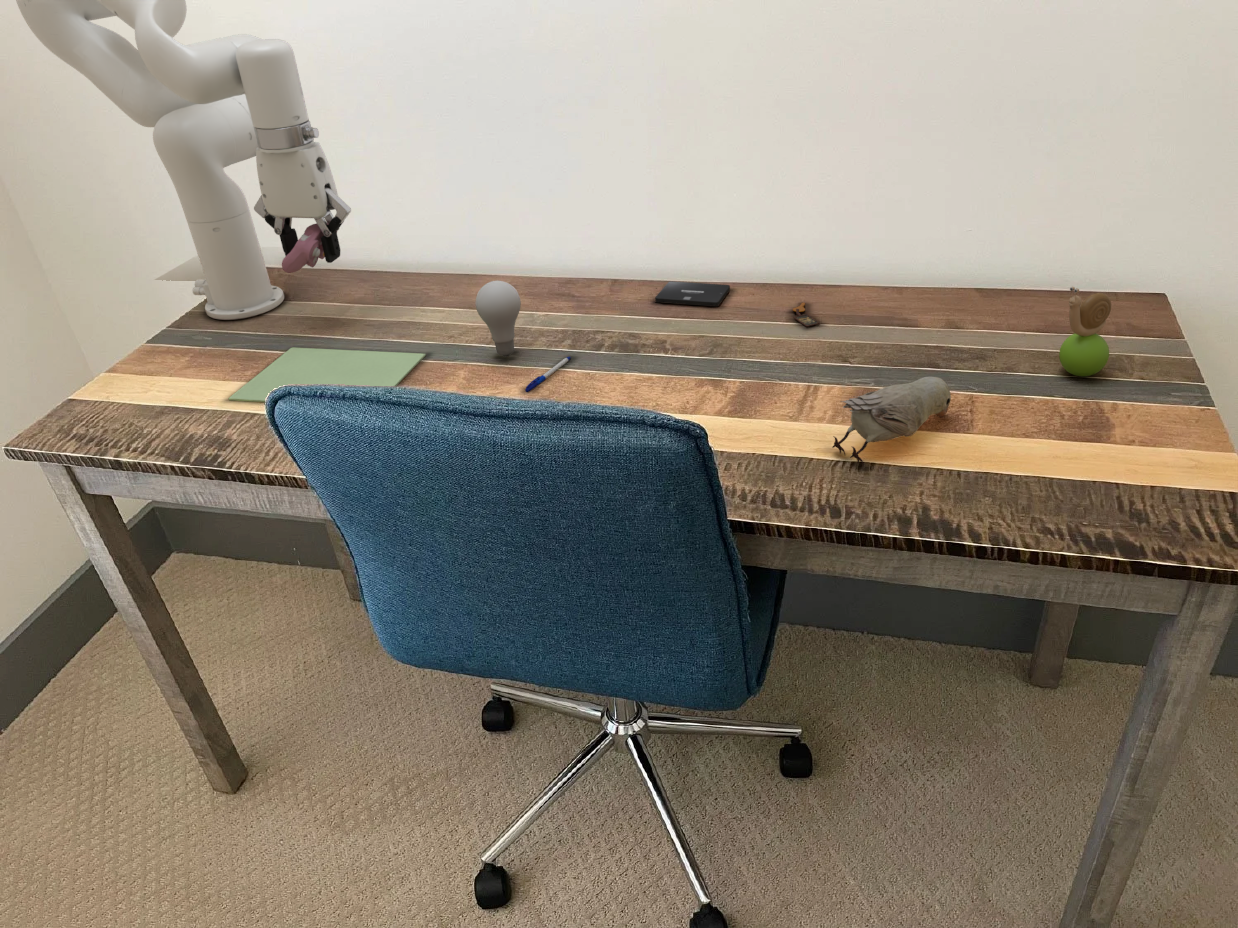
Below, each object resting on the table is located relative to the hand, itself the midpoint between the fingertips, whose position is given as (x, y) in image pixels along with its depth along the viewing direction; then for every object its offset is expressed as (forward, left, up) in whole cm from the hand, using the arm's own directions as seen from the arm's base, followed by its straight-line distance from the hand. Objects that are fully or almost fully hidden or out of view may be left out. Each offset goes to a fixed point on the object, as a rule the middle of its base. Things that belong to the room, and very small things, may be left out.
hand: (313, 257), depth 145 cm
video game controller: (0, 0, -1) cm, 1 cm away
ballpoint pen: (+41, -13, -11) cm, 44 cm away
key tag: (+73, +9, -11) cm, 74 cm away
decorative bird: (+86, -24, -11) cm, 90 cm away
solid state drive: (+55, +15, -11) cm, 58 cm away
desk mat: (+10, -17, -11) cm, 22 cm away
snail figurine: (+107, -6, -11) cm, 107 cm away
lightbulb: (+33, -8, -11) cm, 35 cm away
